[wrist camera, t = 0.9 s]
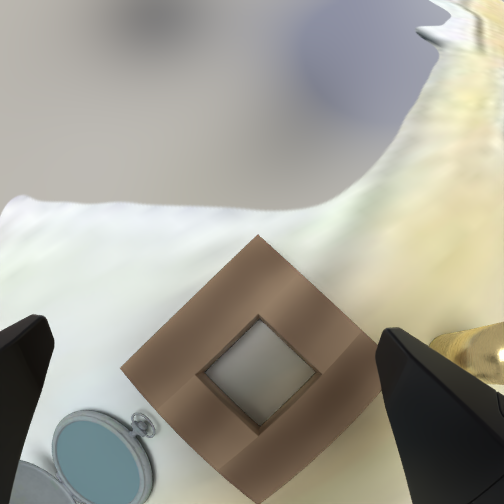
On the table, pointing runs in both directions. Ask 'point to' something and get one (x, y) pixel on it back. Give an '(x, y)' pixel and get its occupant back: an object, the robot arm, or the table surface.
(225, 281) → the jig block
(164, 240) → the table surface
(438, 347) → the gold cylinder
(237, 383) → the table surface
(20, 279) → the table surface
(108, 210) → the table surface
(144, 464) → the pocket watch
